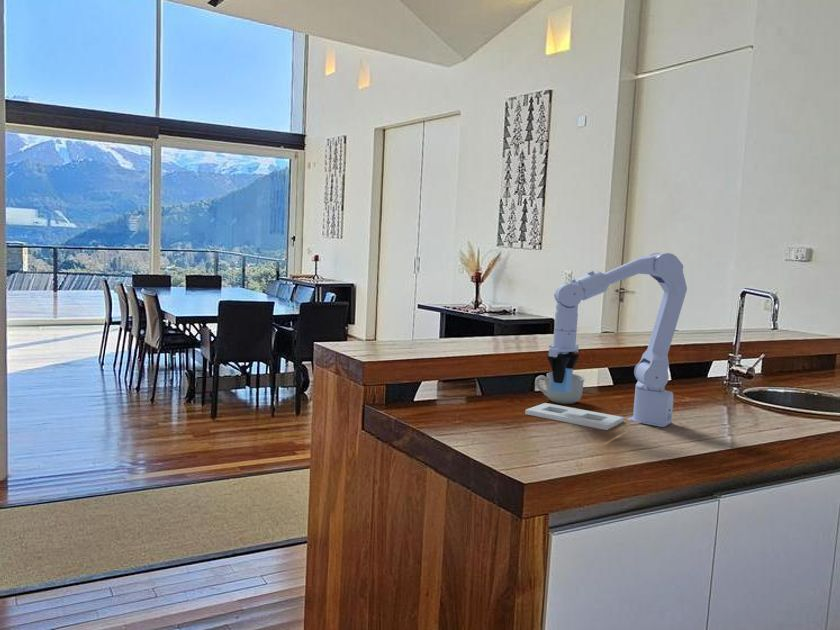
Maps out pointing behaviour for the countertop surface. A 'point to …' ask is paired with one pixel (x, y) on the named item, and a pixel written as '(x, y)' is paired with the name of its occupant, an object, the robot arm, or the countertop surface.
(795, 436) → the countertop surface
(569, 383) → the plug
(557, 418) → the panel
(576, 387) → the teacup
